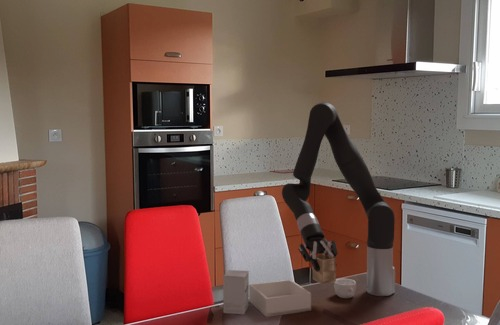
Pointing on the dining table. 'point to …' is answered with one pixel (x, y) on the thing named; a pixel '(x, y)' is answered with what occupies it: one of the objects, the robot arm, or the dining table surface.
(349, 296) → the teacup
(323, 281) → the small wooden crate
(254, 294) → the big plastic crate
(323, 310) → the dining table surface
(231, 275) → the supplement box
